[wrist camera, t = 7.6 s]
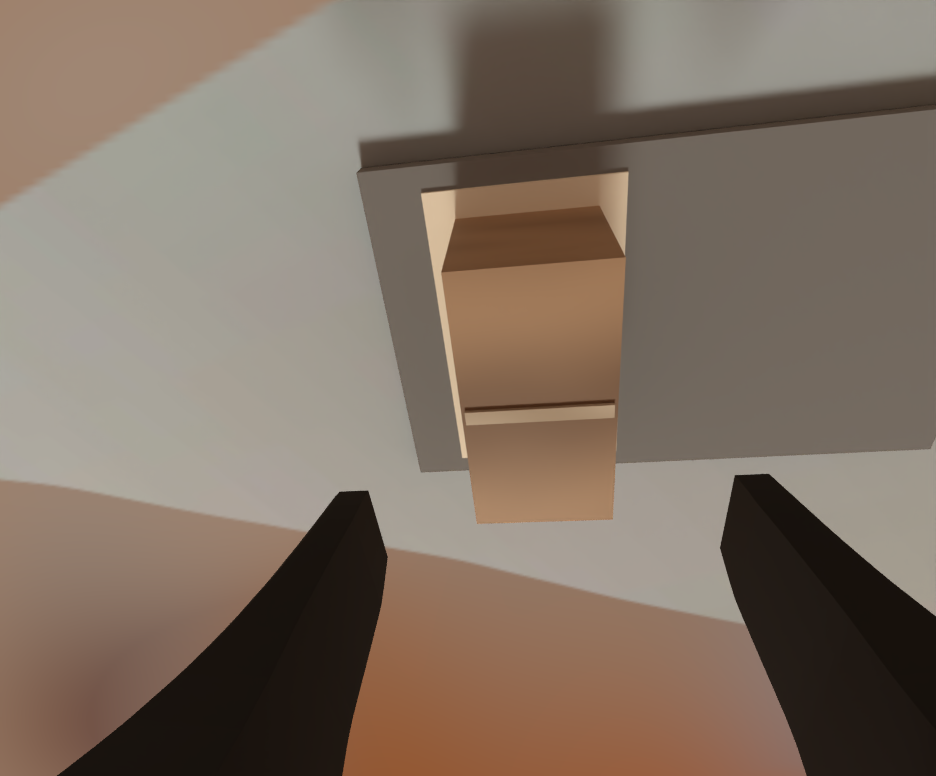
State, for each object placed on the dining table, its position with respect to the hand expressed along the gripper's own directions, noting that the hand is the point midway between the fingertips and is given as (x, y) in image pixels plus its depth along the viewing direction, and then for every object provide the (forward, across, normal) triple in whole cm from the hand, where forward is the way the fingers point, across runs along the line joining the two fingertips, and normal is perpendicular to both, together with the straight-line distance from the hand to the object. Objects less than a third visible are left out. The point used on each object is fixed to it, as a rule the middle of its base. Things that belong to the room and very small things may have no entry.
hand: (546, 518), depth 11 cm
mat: (+8, -4, 0) cm, 9 cm away
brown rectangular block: (+8, 0, 0) cm, 8 cm away
